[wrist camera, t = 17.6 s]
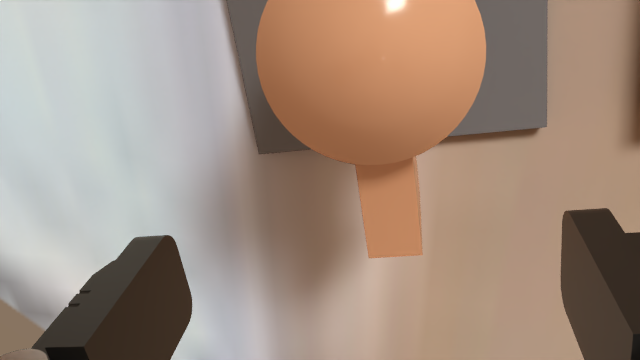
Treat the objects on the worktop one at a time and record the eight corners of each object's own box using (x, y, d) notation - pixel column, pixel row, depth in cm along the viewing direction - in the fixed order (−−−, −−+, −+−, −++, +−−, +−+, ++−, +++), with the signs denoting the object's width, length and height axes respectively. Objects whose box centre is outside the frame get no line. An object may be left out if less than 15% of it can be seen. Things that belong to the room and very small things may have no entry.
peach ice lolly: (300, -62, 21) (234, -43, 13) (451, -88, 20) (480, -84, 12) (335, 159, 25) (300, 280, 17) (465, 147, 24) (495, 270, 16)
